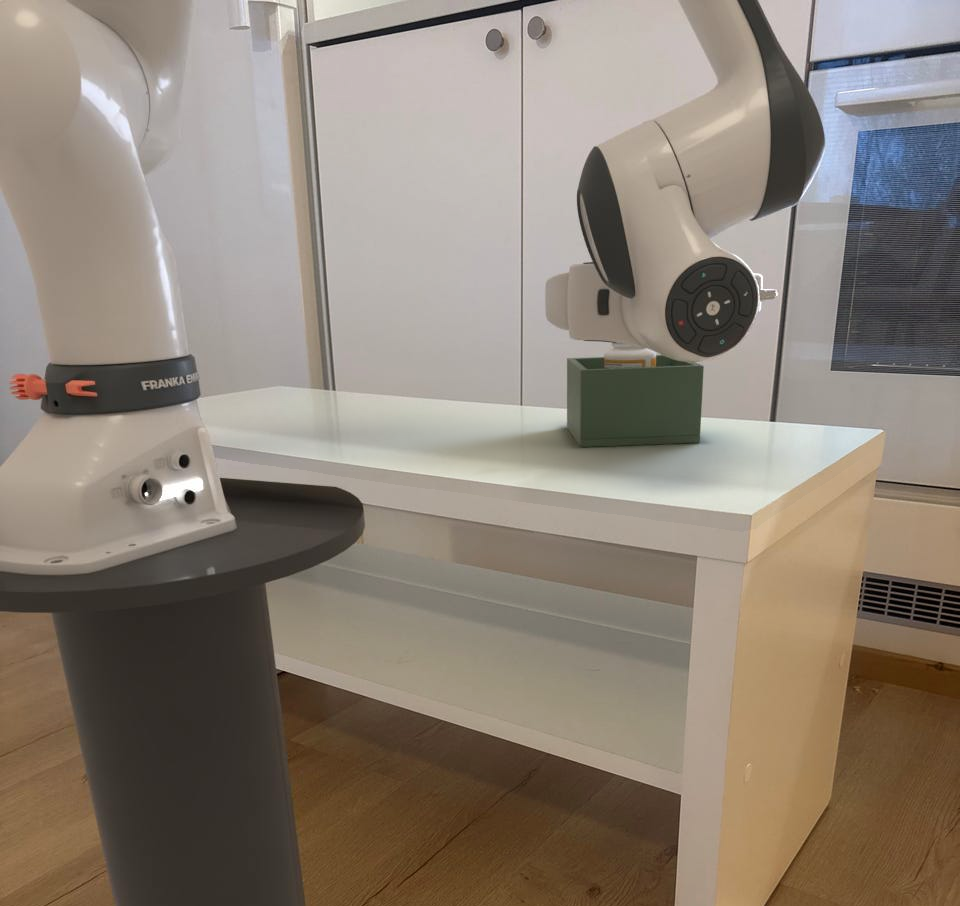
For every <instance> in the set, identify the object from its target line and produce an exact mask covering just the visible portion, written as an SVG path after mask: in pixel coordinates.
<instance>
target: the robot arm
mask: <svg viewBox="0 0 960 906" xmlns="http://www.w3.org/2000/svg"><path fill="white" fill-rule="evenodd" d="M677 1H678V2H679V5H680V7H681V9H682V11H683V13H684V15H685V17H686V19H687V21H688V23H689V25H690V26H691V29H692V31H693V33H694V35H695V37H696V39H697V40H698V42H699V44H700V46H701V49H702V50H703V52H704V54H705V56H706V58H707V61H708V62H709V64H710V66H711V68H712V70H713V72H714V74H715V76H716V79H717V84H716V85H715V86H714V87H713V88H712V89H711V90H709V91H708V92H707V93H704V94H702V95H700V96H698V97H696V98H694V99H692V100H690V101H688V102H686V103H683V104H682V105H680V106H677V107H675V108H674V109H671V110H669V111H667V112H665V113H663V114H661V115H658V116H657V117H655V118H653V119H648V120H645V121H644V122H642V123H640V124H638V125H635V126H633V127H631V128H629V129H627V130H625V131H623V132H621V133H619V134H617V135H615V136H613V137H611V138H609V139H606V140H605V141H603V142H602V143H599V144H598V145H594V146H593V147H592V149H591V150H590V151H589V153H588V155H587V157H586V160H585V162H584V165H583V167H582V169H581V174H580V178H579V182H578V185H577V191H576V209H577V216H578V222H579V225H580V226H579V227H580V229H581V234H582V236H583V240H584V243H585V246H586V249H587V251H588V254H589V257H590V259H591V261H589V262H588V261H587V262H583V263H574V264H572V265H570V266H569V271H568V272H563V273H558V274H556V275H553V276H551V277H549V278H547V280H546V281H545V288H544V289H545V290H544V306H545V307H544V308H545V310H544V311H545V317H546V320H547V321H548V322H549V323H550V324H551V325H552V326H554V327H556V328H558V329H560V330H564V331H568V335H569V338H570V339H571V340H574V341H583V342H602V343H611V344H612V343H617V342H619V343H624V344H628V345H631V346H634V347H637V348H640V349H644V348H645V347H646V348H648V349H650V350H652V351H655V352H656V353H658V355H663V356H666V357H668V358H671V359H674V360H677V361H683V362H695V363H701V362H708V361H712V360H717V359H719V358H722V357H723V356H725V355H726V354H729V353H730V352H731V351H733V350H734V349H735V348H736V347H738V345H740V344H741V343H742V341H743V340H745V338H746V337H747V336H748V334H749V333H750V331H751V329H752V327H753V326H754V324H755V321H756V318H757V315H758V314H759V313H760V312H761V309H762V302H764V301H766V300H776V299H777V296H778V291H777V289H773V288H763V280H764V277H763V275H762V274H761V273H757V272H753V271H752V270H751V268H750V267H749V266H748V264H747V263H746V262H745V261H744V260H743V259H742V258H740V257H739V256H738V255H736V254H735V253H733V252H732V251H729V250H726V249H724V248H722V247H721V246H719V245H717V244H716V243H715V242H714V241H713V240H712V239H711V238H713V237H716V236H718V235H720V234H722V233H725V232H727V231H729V230H731V229H733V228H735V227H737V226H740V225H742V224H744V223H747V222H749V221H751V222H753V221H756V220H759V219H761V218H764V217H767V216H770V215H772V214H775V213H778V212H781V211H784V210H787V209H789V208H792V207H795V206H796V205H797V204H799V202H800V201H801V199H802V198H803V196H805V193H806V192H807V190H808V188H809V187H810V185H811V184H812V182H813V181H814V178H815V176H816V174H817V172H818V171H819V167H820V165H821V163H822V161H823V157H824V155H825V151H826V136H825V130H824V126H823V122H822V118H821V115H820V112H819V109H818V108H817V105H816V102H815V101H814V99H813V96H812V95H811V92H810V91H809V88H808V87H807V86H806V84H805V82H804V81H803V79H802V77H801V76H800V74H799V73H798V71H797V69H796V68H795V67H794V65H793V63H792V62H791V60H790V59H789V57H788V55H787V54H786V52H785V50H784V49H783V47H782V46H781V44H780V42H779V41H778V38H777V37H776V34H775V32H774V30H773V28H772V26H771V24H770V22H769V20H768V19H767V16H766V14H765V12H764V10H763V7H762V6H761V4H760V2H759V0H677ZM194 6H195V0H0V190H1V193H2V195H3V198H4V201H5V203H6V205H7V208H8V209H9V212H10V214H11V217H12V220H13V221H14V224H15V227H16V229H17V232H18V234H19V237H20V238H21V243H22V245H23V247H24V252H25V254H26V257H27V260H28V263H29V267H30V270H31V275H32V278H33V284H34V287H35V293H36V298H37V302H38V307H39V313H40V316H41V322H42V327H43V332H44V336H45V341H46V347H47V351H48V356H49V361H50V362H49V363H48V364H47V365H46V366H45V367H46V368H45V373H44V378H42V377H41V376H40V375H38V374H35V373H31V374H25V373H15V374H13V375H12V376H11V378H10V379H11V381H9V384H8V385H13V386H9V390H14V391H11V392H10V393H11V394H12V395H17V396H15V399H17V400H33V401H38V400H39V401H40V409H41V410H42V411H43V413H42V415H40V418H39V419H38V420H37V421H36V422H35V423H34V425H33V426H32V427H31V428H30V430H29V431H28V432H27V434H26V435H25V436H24V437H23V439H22V440H21V442H20V443H19V444H18V445H17V446H16V447H15V449H14V450H13V451H12V452H11V454H10V455H9V456H7V458H6V459H5V460H4V461H3V463H2V464H1V465H0V571H2V572H9V573H17V574H28V575H54V576H56V575H78V574H88V573H93V572H97V571H100V570H104V569H107V568H110V567H114V566H117V565H120V564H124V563H127V562H130V561H134V560H137V559H140V558H144V557H147V556H150V555H154V554H157V553H160V552H164V551H167V550H170V549H174V548H177V547H180V546H184V545H187V544H190V543H194V542H197V541H200V540H204V539H207V538H210V537H214V536H217V535H220V534H224V533H227V532H230V531H233V530H235V529H236V528H237V525H236V521H235V517H234V516H233V515H232V514H231V511H230V509H229V507H228V505H227V502H226V500H225V497H224V494H223V490H222V486H221V482H220V478H221V477H220V474H219V469H218V465H217V462H216V457H215V454H214V450H213V446H212V441H211V438H210V435H209V432H208V430H207V428H206V426H205V424H204V421H203V418H202V416H201V413H200V410H199V404H198V399H199V398H200V397H201V395H202V394H201V387H200V386H201V385H200V379H201V378H200V373H199V371H198V369H197V363H196V357H195V356H194V355H193V354H191V353H190V351H189V350H190V349H189V342H188V336H187V329H186V322H185V315H184V308H183V307H184V306H183V301H182V294H181V287H180V280H179V273H178V266H177V260H176V256H175V253H174V250H173V248H172V247H171V245H170V243H169V242H168V240H167V238H166V236H165V234H164V230H163V229H162V226H161V223H160V220H159V217H158V215H157V212H156V209H155V206H154V202H153V200H152V195H151V194H150V190H149V187H148V184H147V181H146V178H145V176H147V175H149V174H151V173H153V172H154V171H156V170H158V169H160V168H161V167H163V166H164V165H165V164H166V163H167V162H168V161H169V160H170V159H171V158H172V157H173V155H174V154H175V152H176V150H177V148H178V145H179V143H180V139H181V135H182V128H183V117H182V116H183V115H182V114H183V113H182V107H181V98H182V92H183V91H182V90H183V84H184V78H185V74H186V73H185V72H186V67H187V59H188V52H189V43H190V35H191V29H192V20H193V12H194V11H193V10H194Z"/></svg>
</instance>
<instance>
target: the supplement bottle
mask: <svg viewBox="0 0 960 906" xmlns="http://www.w3.org/2000/svg"><path fill="white" fill-rule="evenodd" d="M611 346H612V347H613V348H610V349H608V350H606V351H605V352H604V356H603V357H604V369H610V368H637V367H656V355H657V352H655V351H652V350H650V349H648V348H646V347H645V348H644V349H640V348H637V347H634V346H631V345H628V344H624V343H619V342H617V343H612V342H611Z"/></svg>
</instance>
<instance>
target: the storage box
mask: <svg viewBox="0 0 960 906" xmlns="http://www.w3.org/2000/svg"><path fill="white" fill-rule="evenodd" d="M704 370H705V366H704V365H702V364H700V363H699V362H683V361H677V360H674V359H671V358H668V357H666V356H663V355H661V354H656V367H637V368H610V369H604V356H594V357H593V356H592V357H568V358H566V428H567V430H568V431H569V433H570V434H571V435H572V437H573V438H574V440H575V441H576V443H577V444H578V446H579V447H580V448H591V447H592V448H594V447H595V448H596V447H618V446H619V447H620V446H622V447H623V446H645V445H646V446H647V445H672V444H675V445H676V444H698V443H699V444H700V443H701V428H702V427H701V425H702V409H703V407H702V406H703V391H704V390H703V388H704V372H705V371H704Z"/></svg>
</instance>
